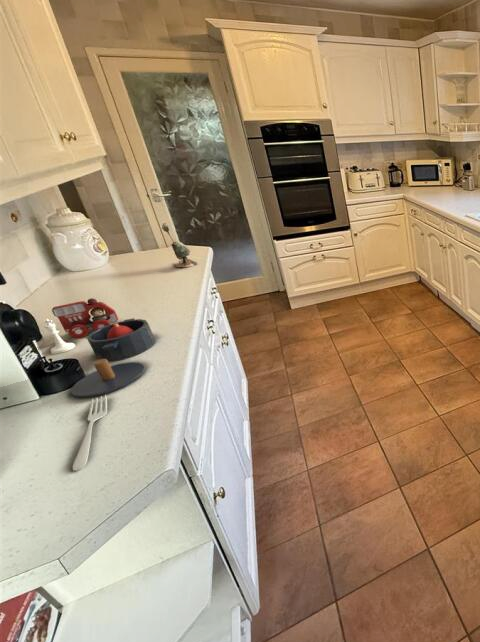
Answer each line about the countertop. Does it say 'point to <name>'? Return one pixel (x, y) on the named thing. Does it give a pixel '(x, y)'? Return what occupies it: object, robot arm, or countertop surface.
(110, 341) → the pan
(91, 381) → the lid
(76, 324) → the toy fire truck
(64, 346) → the chess piece
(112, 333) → the onion
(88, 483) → the countertop surface
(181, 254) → the plant with pod
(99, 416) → the fork
